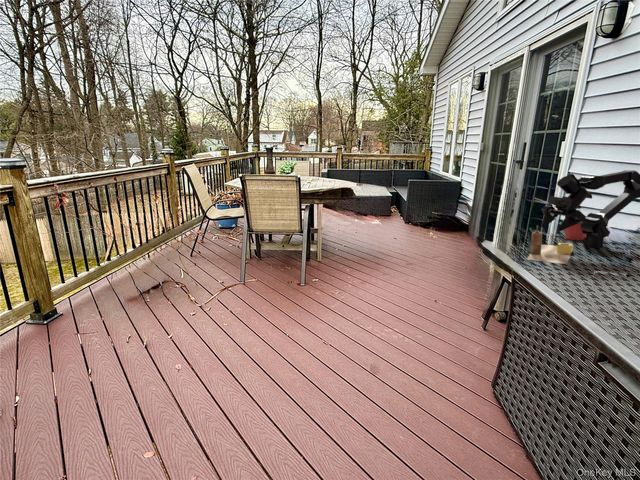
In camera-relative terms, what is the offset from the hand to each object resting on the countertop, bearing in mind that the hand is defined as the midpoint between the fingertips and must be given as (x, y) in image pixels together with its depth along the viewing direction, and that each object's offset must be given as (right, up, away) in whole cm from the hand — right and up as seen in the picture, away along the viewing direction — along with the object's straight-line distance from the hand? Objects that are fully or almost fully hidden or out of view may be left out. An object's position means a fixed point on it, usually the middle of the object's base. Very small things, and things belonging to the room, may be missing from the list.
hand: (549, 229), depth 148 cm
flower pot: (+28, -4, +22) cm, 35 cm away
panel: (+1, -12, +1) cm, 12 cm away
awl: (-5, -11, +2) cm, 12 cm away
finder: (+7, -10, +1) cm, 12 cm away
